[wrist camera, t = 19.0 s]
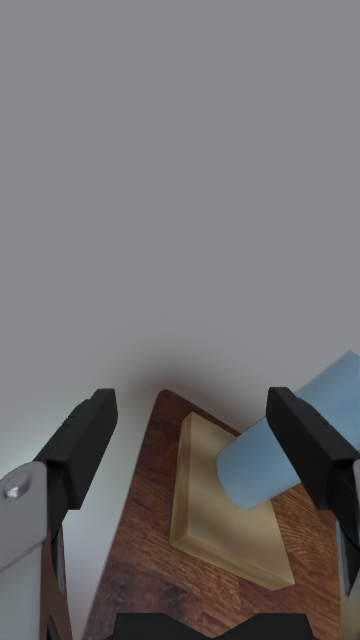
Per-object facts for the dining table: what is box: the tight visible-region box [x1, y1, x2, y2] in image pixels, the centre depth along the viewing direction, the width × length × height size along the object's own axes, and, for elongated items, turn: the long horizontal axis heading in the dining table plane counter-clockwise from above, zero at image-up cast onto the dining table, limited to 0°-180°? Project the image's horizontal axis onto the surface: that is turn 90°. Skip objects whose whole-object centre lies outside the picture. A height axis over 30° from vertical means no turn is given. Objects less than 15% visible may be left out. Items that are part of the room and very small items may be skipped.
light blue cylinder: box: [216, 350, 360, 511], centre depth 18 cm, size 6×6×19 cm
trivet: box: [169, 412, 295, 591], centre depth 21 cm, size 12×12×3 cm
